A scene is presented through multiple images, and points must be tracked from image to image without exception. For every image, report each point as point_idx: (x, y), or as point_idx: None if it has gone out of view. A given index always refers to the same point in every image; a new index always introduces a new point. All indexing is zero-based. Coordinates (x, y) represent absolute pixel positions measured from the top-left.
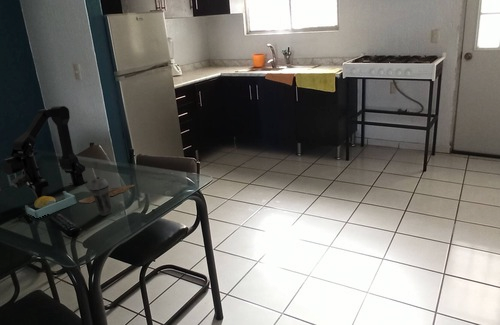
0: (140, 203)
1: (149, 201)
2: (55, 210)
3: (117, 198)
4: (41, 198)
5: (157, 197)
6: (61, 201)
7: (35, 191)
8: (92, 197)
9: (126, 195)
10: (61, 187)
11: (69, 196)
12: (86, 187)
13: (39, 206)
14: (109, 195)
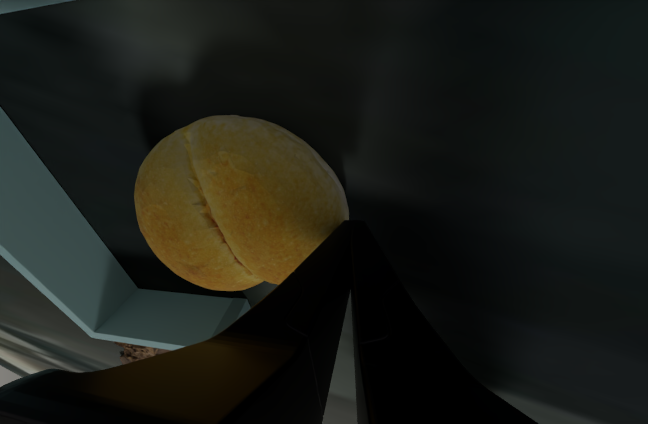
0: (12, 343)
1: (20, 354)
2: (39, 190)
3: (93, 351)
4: (228, 235)
5: (43, 369)
6: (24, 271)
7: (254, 309)
8: None
9: (106, 367)
10: (517, 385)
11: (145, 326)
12: (332, 392)
13: (160, 143)
14: (130, 361)
